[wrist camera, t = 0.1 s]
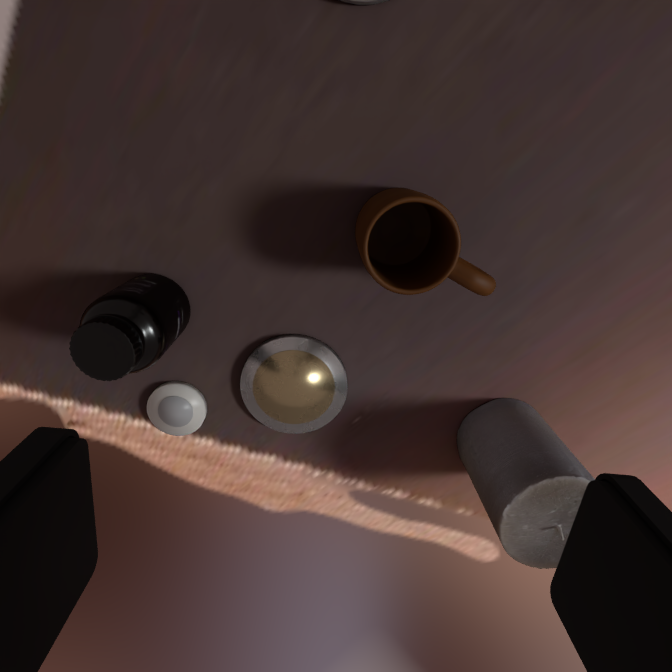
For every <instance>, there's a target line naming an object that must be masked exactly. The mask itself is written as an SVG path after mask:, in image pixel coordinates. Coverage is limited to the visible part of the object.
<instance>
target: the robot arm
mask: <svg viewBox="0 0 672 672" xmlns="http://www.w3.org/2000/svg"><path fill="white" fill-rule="evenodd" d="M340 1H342V2H346V3H351V4H356V5H372V4H377V3H381V2H385V1H389V0H340ZM97 558H98V548H97V537H96V527H95V516H94V505H93V495H92V483H91V472H90V462H89V451H88V444H87V441H86V440H85V439H83V438H79V435H78V433H77V431H75V430H73V429H62V428H50V427H39V428H37V429H35V430H34V431H33V432H32V433H31V434H30V435H28V436H27V438H25V439H24V440H23V441H22V442H21V443H20V444H19V445H18V446H17V447H16V448H14V449H13V450H12V451H11V452H10V453H9V454H8V455H7V456H6V457H5V458H4V459H3V460H1V461H0V672H38V670H39V669H40V667H41V665H42V663H43V661H44V660H45V658H46V656H47V654H48V653H49V651H50V649H51V647H52V645H53V644H54V642H55V640H56V638H57V637H58V635H59V633H60V631H61V629H62V628H63V626H64V624H65V622H66V620H67V619H68V617H69V615H70V613H71V612H72V610H73V608H74V606H75V605H76V603H77V601H78V599H79V598H80V596H81V594H82V592H83V591H84V589H85V587H86V585H87V584H88V582H89V580H90V578H91V576H92V574H93V572H94V570H95V566H96V563H97ZM550 588H551V589H550V593H551V599H552V603H553V605H554V607H555V609H556V611H557V613H558V615H559V617H560V619H561V621H562V623H563V625H564V627H565V629H566V631H567V633H568V635H569V637H570V639H571V641H572V643H573V645H574V647H575V649H576V651H577V653H578V654H579V657H580V658H581V660H582V662H583V664H584V666H585V668H586V670H587V672H672V512H671V511H670V510H669V509H668V508H667V507H666V506H665V505H664V504H663V503H662V502H661V501H660V500H659V499H658V498H657V497H656V496H655V495H654V494H653V493H652V492H651V490H650V489H649V488H648V487H647V486H646V485H645V484H644V483H643V482H642V481H641V480H639V479H638V478H637V477H635V476H631V475H619V474H607V473H603V474H600V475H598V476H597V477H596V479H595V480H593V481H590V482H589V483H588V485H587V487H586V490H585V492H584V495H583V498H582V500H581V503H580V506H579V509H578V511H577V514H576V517H575V520H574V522H573V525H572V528H571V530H570V533H569V536H568V539H567V541H566V544H565V547H564V550H563V552H562V555H561V558H560V560H559V563H558V566H557V569H556V572H555V574H554V577H553V580H552V582H551V587H550Z"/></svg>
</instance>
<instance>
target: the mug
mask: <svg viewBox="0 0 672 672" xmlns="http://www.w3.org/2000/svg"><path fill="white" fill-rule="evenodd" d="M355 237H356V243H357V246H358V250H359V253H360V256H361V259H362V262H363V264H364V266H365V268H366V270H367V271H368V272H369V274H370V275H371V276H372V277H373V279H374V280H375V281H376V282H377V283H378V284H380V285H381V286H382V287H384V288H385V289H387V290H389V291H392V292H395V293H398V294H404V295H413V294H419V293H423V292H426V291H429V290H431V289H433V288H435V287H436V286H438V285H439V284H440V283H442V282H443V281H444V280H445V279H446V278H447V277H448V278H450V279H451V280H453V281H455V282H456V283H458V284H460V285H461V286H463V287H465V288H467V289H468V290H470V291H472V292H474V293H476V294H479V295H482V296H487V295H490V294H491V293H492V292H493V291H494V289H495V287H496V282H495V280H494V278H492V277H491V276H490V275H489V274H487V273H486V272H484V271H482V270H481V269H479V268H477V267H476V266H474V265H472V264H471V263H469V262H467V261H465V260H464V259H462V258H460V257H459V254H460V248H461V236H460V231H459V227H458V224H457V222H456V220H455V218H454V217H453V215H452V214H451V213H450V211H449V210H448V209H447V208H446V207H444V206H443V205H442V204H441V203H440V202H439V201H437V200H436V199H434V198H432V197H430V196H428V195H426V194H423V193H420V192H417V191H414V190H410V189H406V188H391V189H387V190H384V191H381V192H379V193H377V194H376V195H374V196H373V197H371V198H370V199H369V200H368V201H367V202H366V203H365V205H364V206H363V207H362V209H361V211H360V213H359V215H358V218H357V221H356V226H355Z"/></svg>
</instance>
